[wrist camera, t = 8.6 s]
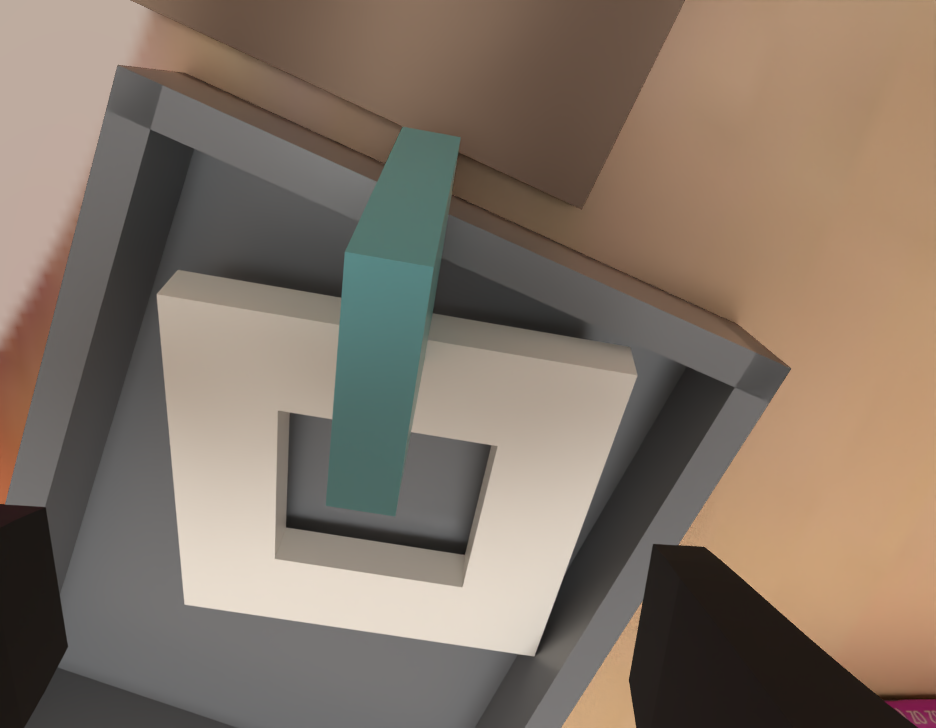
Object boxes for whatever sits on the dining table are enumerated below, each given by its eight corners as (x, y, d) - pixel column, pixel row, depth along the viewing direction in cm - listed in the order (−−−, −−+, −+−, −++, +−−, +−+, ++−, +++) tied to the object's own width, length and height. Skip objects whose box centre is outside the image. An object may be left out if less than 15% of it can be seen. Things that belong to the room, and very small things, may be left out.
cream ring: (533, 623, 19) (538, 825, 15) (198, 573, 19) (109, 767, 15) (689, 179, 12) (778, 327, 8) (165, 83, 12) (-22, 187, 8)
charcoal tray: (738, 325, 17) (791, 368, 14) (450, 805, 22) (446, 906, 19) (184, 72, 15) (117, 65, 12) (16, 659, 20) (-58, 748, 18)
